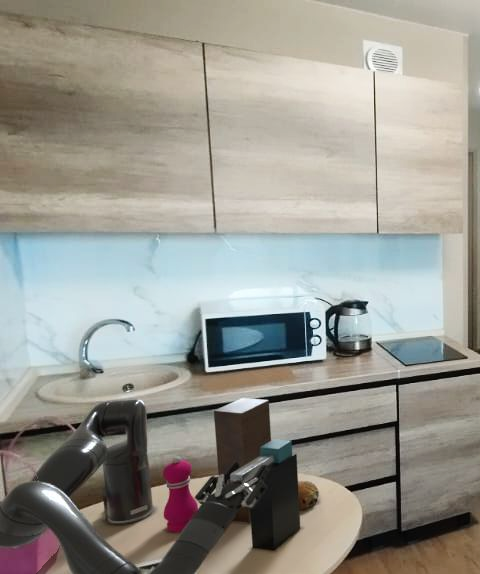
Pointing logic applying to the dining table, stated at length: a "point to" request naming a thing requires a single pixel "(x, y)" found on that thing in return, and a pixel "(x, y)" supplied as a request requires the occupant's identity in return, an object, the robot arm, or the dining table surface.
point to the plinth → (241, 437)
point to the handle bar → (263, 460)
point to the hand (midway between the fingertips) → (251, 465)
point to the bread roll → (307, 494)
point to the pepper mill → (178, 495)
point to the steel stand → (277, 506)
